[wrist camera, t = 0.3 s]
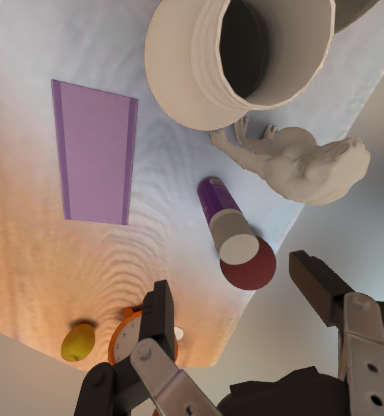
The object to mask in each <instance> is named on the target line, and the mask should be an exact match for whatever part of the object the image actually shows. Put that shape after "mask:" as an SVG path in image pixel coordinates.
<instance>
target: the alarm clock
mask: <svg viewBox="0 0 384 416" xmlns="http://www.w3.org/2000/svg"><path fill="white" fill-rule="evenodd" d="M123 312H124V315H125V320H124V321H123V322H122V323H121V324H120V325H119V326H118V327H117V329H116V330H115V332H114V334H113V335H112V338H111V341H110V344H109V347H108V361H109V363H110V364H111V365H114V364H116V363H117V362H119V361H121V360H123V359H124V358H126V357H127V356H128V355H130V354H131V352H132V350H133V348H134V346H135V345H136V344H137V342H138V337H139V330H140V322H141V316H142V310H141V311H138V312H135V313H134V312H133V310H132V308H126V309H123ZM174 337H175V361H174V363H175V362H176V359H177V353H178V344H177V339H176V336H175V333H174Z"/></svg>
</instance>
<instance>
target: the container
mask: <svg viewBox="0 0 384 416" xmlns="http://www.w3.org/2000/svg"><path fill="white" fill-rule="evenodd" d="M197 192H198V196H199V199H200V202H201V205H202V208H203V211H204V214H205V217H206V220H207V223H208V226H209V229H210V232H211V234H212V237H213V240H214V242H215V245H216V247H217V250H218V253H219V255H220V258H221V259H222V260H223V261H224V262H225V263H227V264H232V265H238V264H242V263H245V262H247V261H249V260H251V259H252V258H253V257H254V256H255V255H256V253H257V252H258V249H259V242H258V240H257V238H256V237H255V235H254V233H253V231H252V229H251V228H250V226H249V224H248V222H247V221H246V219H245V217H244V215H243V214H242V212H241V210H240V209H239V207H238V206H237V204H236V202H235V201H234V199H233V198H232V196H231V194H230V193H229V191H228V190H227V188H226V186H225V185H224V183H223V182H222V180H221V179H219V178H217V177H207V178H205V179H203V180H202V181H201V182H200V183H199V185H198V188H197Z"/></svg>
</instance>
